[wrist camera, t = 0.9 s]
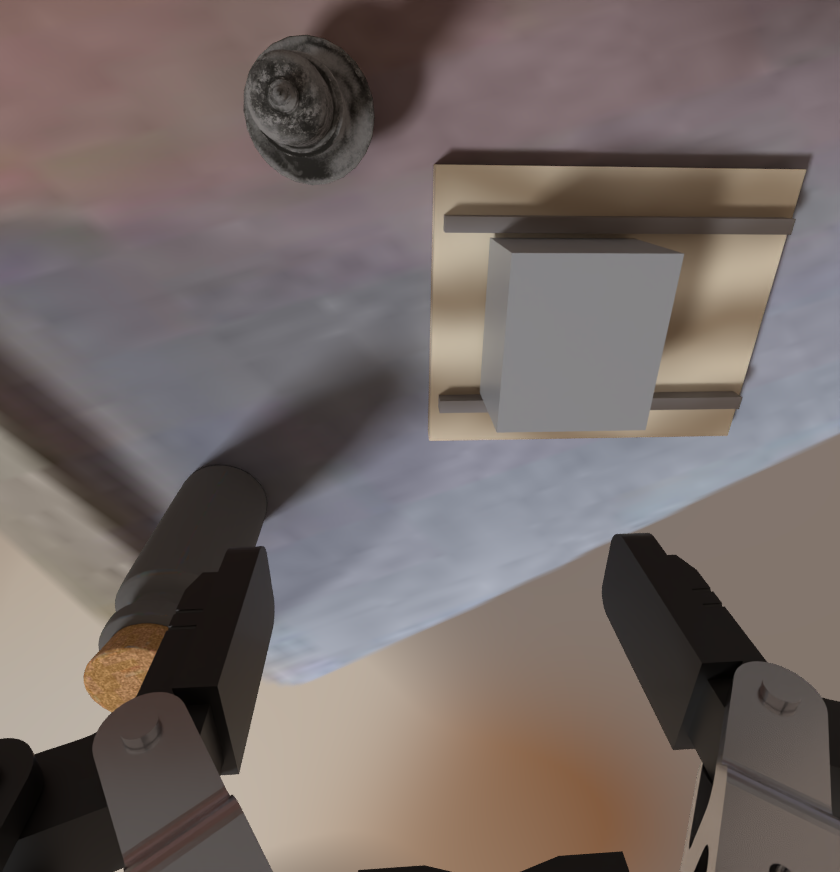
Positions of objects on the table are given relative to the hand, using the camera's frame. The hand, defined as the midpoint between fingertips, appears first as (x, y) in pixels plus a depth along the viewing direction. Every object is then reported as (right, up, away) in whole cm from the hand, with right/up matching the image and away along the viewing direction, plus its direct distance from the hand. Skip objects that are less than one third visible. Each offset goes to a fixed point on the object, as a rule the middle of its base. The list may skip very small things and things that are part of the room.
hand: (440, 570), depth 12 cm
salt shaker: (-6, +19, +16) cm, 26 cm away
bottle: (-14, -1, +26) cm, 29 cm away
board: (+10, +11, +21) cm, 26 cm away
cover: (+7, +10, +20) cm, 23 cm away
